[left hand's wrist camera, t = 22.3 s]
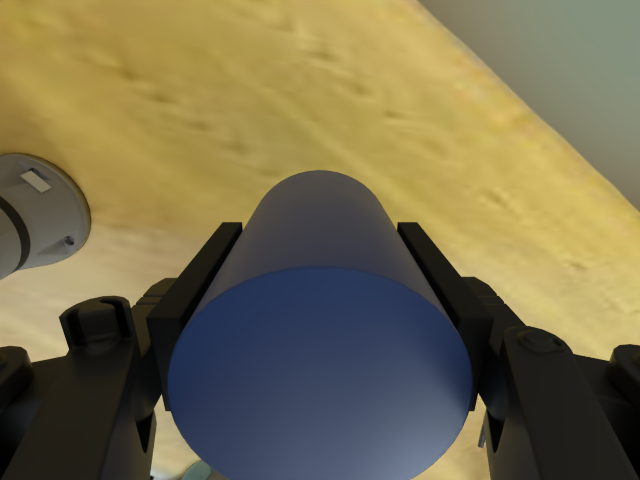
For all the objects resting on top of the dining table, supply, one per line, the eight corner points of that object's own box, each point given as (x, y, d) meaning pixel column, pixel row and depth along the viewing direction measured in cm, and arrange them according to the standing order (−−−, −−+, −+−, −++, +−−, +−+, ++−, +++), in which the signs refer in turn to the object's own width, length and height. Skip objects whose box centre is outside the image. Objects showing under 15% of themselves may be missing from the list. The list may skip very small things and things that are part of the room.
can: (249, 293, 16) (174, 494, 8) (252, 163, 14) (153, 251, 6) (377, 304, 17) (436, 511, 8) (400, 177, 14) (513, 282, 6)
